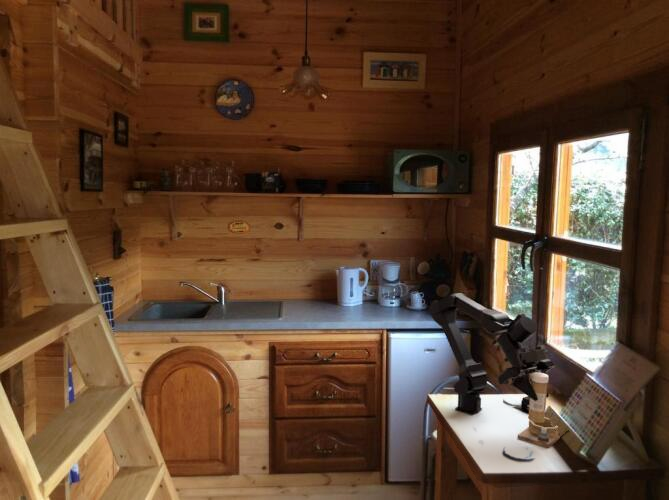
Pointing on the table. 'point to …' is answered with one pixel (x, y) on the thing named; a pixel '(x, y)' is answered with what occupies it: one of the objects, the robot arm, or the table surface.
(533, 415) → the sprinkles bottle
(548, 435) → the stand
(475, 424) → the table surface
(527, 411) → the black angular block
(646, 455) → the table surface
